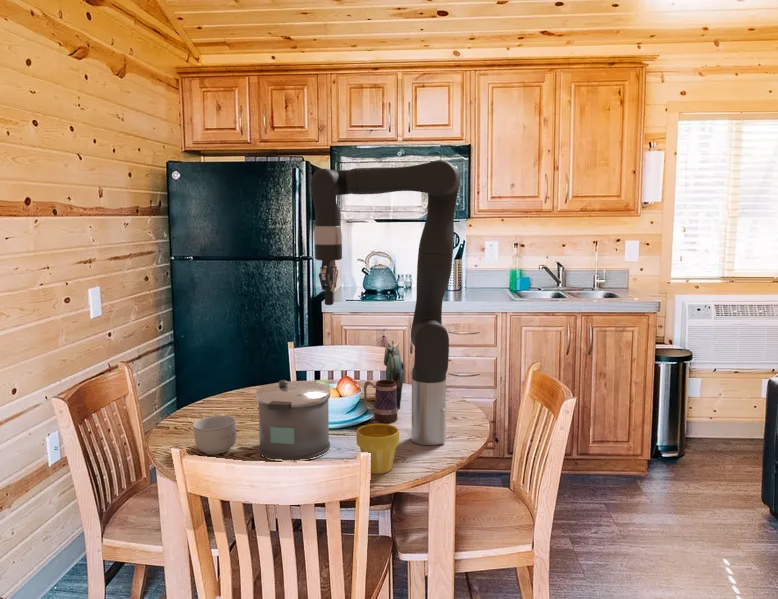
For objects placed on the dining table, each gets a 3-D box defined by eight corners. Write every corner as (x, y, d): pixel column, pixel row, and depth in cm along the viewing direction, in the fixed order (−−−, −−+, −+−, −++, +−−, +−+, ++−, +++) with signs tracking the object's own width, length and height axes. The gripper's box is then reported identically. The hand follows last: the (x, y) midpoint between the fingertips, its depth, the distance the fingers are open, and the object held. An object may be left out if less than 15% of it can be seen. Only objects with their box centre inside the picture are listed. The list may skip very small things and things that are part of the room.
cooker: (338, 437, 176) (337, 388, 174) (318, 465, 156) (318, 410, 155) (274, 433, 179) (273, 385, 177) (247, 460, 160) (245, 406, 158)
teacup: (226, 459, 160) (225, 429, 159) (186, 456, 162) (185, 426, 161) (247, 440, 174) (247, 412, 172) (210, 438, 175) (209, 409, 174)
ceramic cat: (383, 392, 221) (383, 336, 218) (401, 392, 221) (402, 336, 218) (386, 410, 201) (386, 348, 198) (406, 409, 201) (407, 348, 199)
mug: (397, 416, 195) (398, 378, 194) (397, 423, 188) (397, 384, 186) (364, 415, 195) (364, 377, 194) (362, 423, 188) (362, 383, 187)
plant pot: (347, 470, 153) (347, 431, 152) (372, 457, 162) (372, 420, 160) (383, 480, 147) (383, 440, 146) (407, 466, 156) (407, 428, 155)
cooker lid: (338, 388, 173) (337, 377, 173) (316, 412, 152) (316, 400, 152) (271, 385, 176) (271, 374, 176) (241, 408, 155) (240, 396, 155)
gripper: (336, 243, 169) (336, 308, 171) (346, 241, 182) (347, 301, 184) (308, 243, 170) (309, 307, 172) (321, 241, 183) (322, 301, 185)
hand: (329, 304), depth 178 cm, fingers closed
